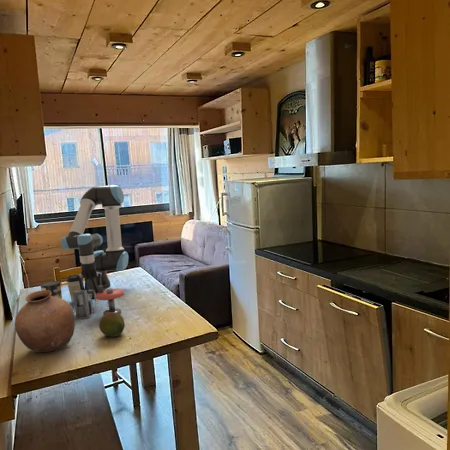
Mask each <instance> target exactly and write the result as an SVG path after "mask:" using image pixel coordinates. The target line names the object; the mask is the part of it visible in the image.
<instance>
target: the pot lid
mask: <svg viewBox="0 0 450 450" xmlns="http://www.w3.org/2000/svg"><path fill="white" fill-rule="evenodd" d="M97 287H98V293H97V294H96V299H98V301H108V300H111V299H114V300H115V299H116V300H117V299H119V298H122V297H123V296H124V295H125V290H124V289H123V288H113V287H107V288H105V289H103V285H99V286H97Z"/></svg>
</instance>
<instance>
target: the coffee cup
mask: <svg viewBox="0 0 450 450" xmlns="http://www.w3.org/2000/svg"><path fill="white" fill-rule="evenodd" d="M77 275H78V274H74V275H69V276H68V278H66V282H67V287H68V293H69V295H70V296H69V297H70V299H71V303H74V297H73V292H74V291H76V290H81V289H80V284H79V279H78V278H77ZM82 279H83V280H84V277H83V276H82ZM83 284H84V285H85V282H83Z"/></svg>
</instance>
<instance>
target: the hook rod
mask: <svg viewBox="0 0 450 450" xmlns="http://www.w3.org/2000/svg"><path fill="white" fill-rule="evenodd" d="M94 292H95V289H89V290H88V291H87V296H88V301H89V300H92V301H93V300H95V297H94ZM79 303H80V305H84V304H83V296H82V295H79Z"/></svg>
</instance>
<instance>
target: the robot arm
mask: <svg viewBox="0 0 450 450" xmlns="http://www.w3.org/2000/svg"><path fill="white" fill-rule="evenodd" d="M124 199H125V196H124V191H123V190H122V188H121V187H120V185H117V184H116V185H115V184H110V185H109V184H108V185H97V186H96V185H95V186H92V187H91V188H89V189H88V190H87V191H86V192H84V194H83V195H82V197H81V199H80V201H79V208H78V211H77V212H76V214H75V215H76V216H75V217H74V220H73V223H72V224H71V227H70V230H69V232H68V234H67V236H66V235H65V236H62V237H61V239H60V245H61V248H62V249H63V250H78V253H79V262H80V269H81V272H80V273H78V274H76V275H77V278H78V279H79V284H80V289H81V290H87V291H88V290H89V289H95V292H94V297H95V299H94V302H95V303H94V304H95V305H97V304H99V300H98V299H96V294H97V293H98V287H97V286H99V285H103V289H104V288H105V289H108V288H110V287H111V284H112V283H111V281H110V278H109V276H108V274H107V272H108V271H109V272H110V271H113V272H115V271H117V272H118V271H124V270H126V268H127V266H128V264H129V253H128V252H127V251H125V247H123V245H122V243H123V242H122V233H121V232H122V231H121V220H120V219H121V218H120V208H121V207H122V204H123V203H124V201H125V200H124ZM98 205H99V206H100V205H101V207H102V209H104V214H105V215H104V216H105V227H106V228H105V229H106V242H107V248H106V249H105V251H104V250H100V249H99V250H96V251H95V250H94V249H96V248H98V247H100V246H101V245H102V244H103V242H104V240H103V236H102V235H101V234H99V233H92V234H91V233H84V232H85V229H86V227H87V225H88V222H89V220H90V217H91V214H92V211H93V210H94V209H96V207H97V206H98ZM82 277H83V279H82ZM83 283H84V284H83ZM105 289H104V290H105Z"/></svg>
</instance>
